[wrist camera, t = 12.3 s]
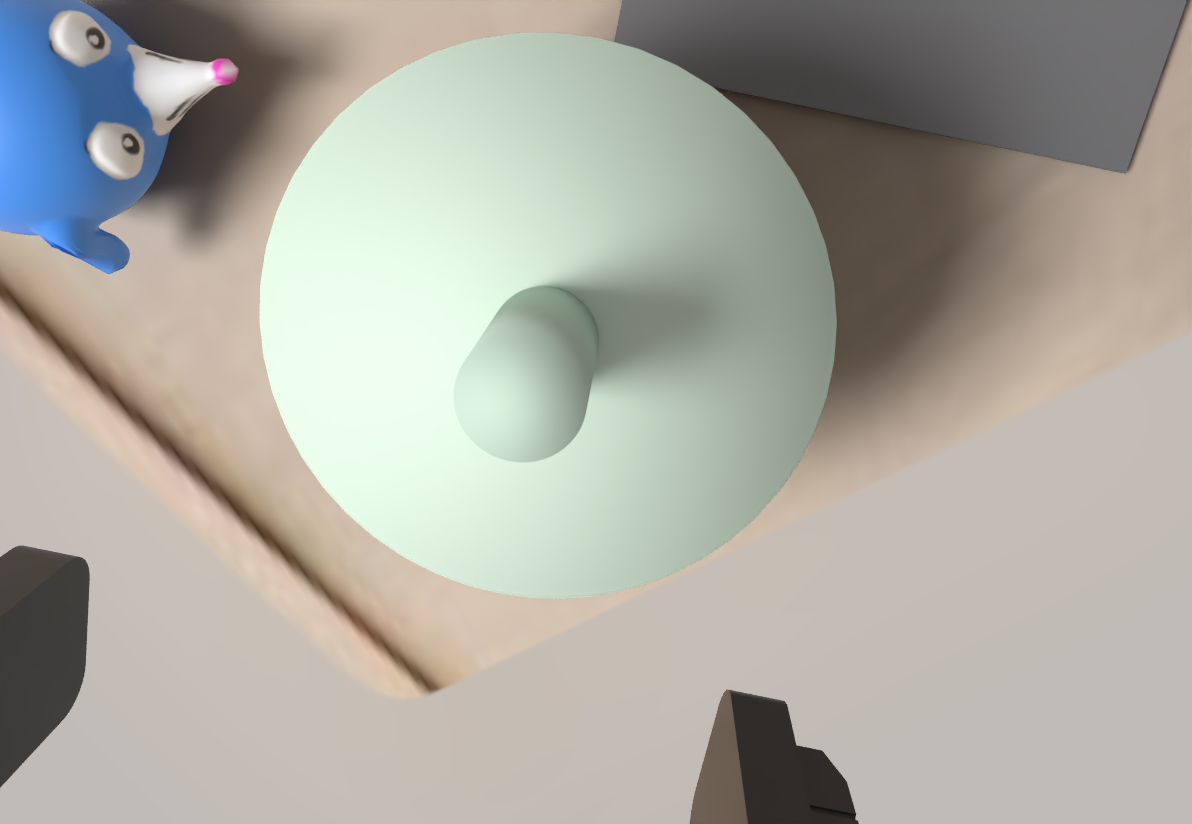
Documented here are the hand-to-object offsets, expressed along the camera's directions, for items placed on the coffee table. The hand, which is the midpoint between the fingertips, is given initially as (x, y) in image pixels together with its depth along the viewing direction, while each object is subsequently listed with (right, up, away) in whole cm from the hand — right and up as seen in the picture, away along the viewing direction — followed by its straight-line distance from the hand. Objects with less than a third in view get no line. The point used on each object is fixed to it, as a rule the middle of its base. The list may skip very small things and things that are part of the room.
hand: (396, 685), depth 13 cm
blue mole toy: (-16, +16, +27) cm, 35 cm away
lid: (+1, +6, +18) cm, 19 cm away
